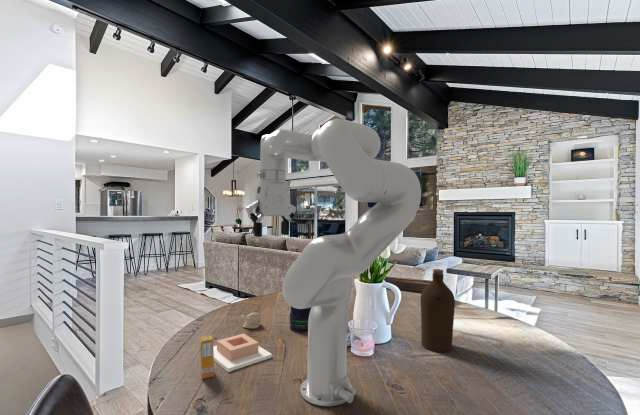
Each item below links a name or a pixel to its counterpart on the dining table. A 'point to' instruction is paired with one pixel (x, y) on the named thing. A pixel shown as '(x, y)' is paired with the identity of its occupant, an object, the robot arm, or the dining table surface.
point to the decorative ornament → (252, 320)
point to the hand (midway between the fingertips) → (271, 235)
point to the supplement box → (207, 357)
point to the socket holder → (238, 352)
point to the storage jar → (299, 319)
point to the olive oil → (437, 314)
